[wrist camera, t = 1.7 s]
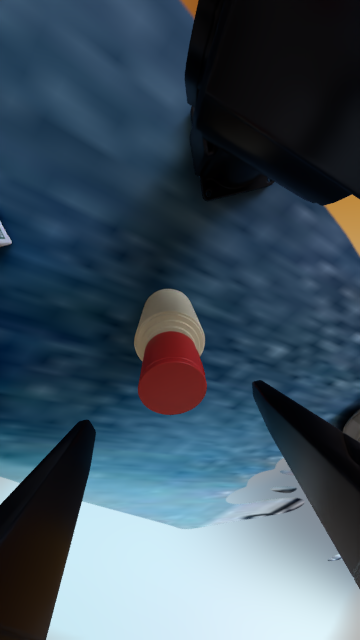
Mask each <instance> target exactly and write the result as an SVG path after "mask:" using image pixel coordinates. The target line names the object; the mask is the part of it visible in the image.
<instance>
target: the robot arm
mask: <svg viewBox="0 0 360 640" xmlns="http://www.w3.org/2000/svg"><path fill="white" fill-rule="evenodd" d="M185 86H186V94H187V103H188V104H190V105H191V106H192V107H191V121H192V130H191V134H190V143H191V150H192V156H193V163H194V169H195V174H196V175H197V176H200V182H201V189H202V196H203V199H204V200H205V201H211V200H215V199H219V198H223V197H227V196H231V195H236V194H240V193H244V192H248V191H252V190H256V189H260V188H264V187H268V186H270V185H272V184H273V183H274V182H276V183H278V184H279V185H281V186H283V187H284V188H286V189H288V190H289V191H291V192H292V193H294V194H296V195H297V196H299V197H301V198H302V199H304V200H307V201H309V202H312V203H318V204H319V205H322V206H323V205H327V204H331V203H334V202H336V201H339V200H341V199H343V198H345V197H347V196H349V195H352V194H353V195H354V196H356V197H357V198H359V199H360V0H199V1H198V6H197V11H196V15H195V20H194V24H193V29H192V34H191V40H190V45H189V50H188V56H187V62H186V70H185ZM267 177H268V178H269V179H270V182H268V181H267ZM207 191H209V192H210V194H211V196H210V197H207V196H206V192H207ZM252 388H253V397H254V399H255V402H256V404H257V406H258V408H259V411H260V413H261V415H262V417H263V419H264V422H265V424H266V426H267V428H268V430H269V432H270V434H271V436H272V438H273V439H274V441H275V443H276V445H277V446H278V448H279V450H280V452H281V453H282V455H283V457H284V458H285V460H286V462H287V464H288V465H289V467H290V469H291V471H292V472H293V474H294V476H295V477H296V479H297V481H298V483H299V484H300V486H301V488H302V490H303V491H304V493H305V494H306V497H307V498H308V500H309V502H310V504H311V505H312V507H313V509H314V510H315V512H316V514H317V516H318V517H319V519H320V521H321V523H322V524H323V526H324V527H325V529H326V531H327V533H328V535H329V536H330V538H331V540H332V542H333V543H334V545H335V547H336V549H337V550H338V552H339V554H340V556H341V557H342V559H343V561H344V562H345V564H346V566H347V567H348V569H349V571H350V573H351V574H352V576H353V577H354V580H355V582H356V583H357V585H358V587H359V589H360V442H358V441H357V440H355V439H353V438H352V437H350V436H349V435H347V434H346V433H343V432H342V431H341V430H339V429H338V428H336V427H334V426H333V425H331V424H330V423H328V422H326V421H325V420H323V419H322V418H320V417H319V416H317V415H315V414H314V413H312V412H311V411H309V410H308V409H306V408H304V407H303V406H301V405H300V404H298V403H296V402H295V401H293V400H292V399H290V398H289V397H287V396H285V395H284V394H282V393H281V392H279V391H277V390H276V389H274V388H273V387H271V386H270V385H268V384H266V383H265V382H263V381H261V380H258V381H254V382H253V383H252ZM95 436H96V432H95V429H94V427H93V426H92V424H91V422H90V421H89V420H83V421H79V422H78V423H77V424H76V425H75V426H74V427H73V428H72V429H71V430H70V431H69V433H68V434H67V435H66V436H65V437H64V438H63V439H62V440H61V441H60V442H59V443H58V444H57V445H56V446H55V447H54V448H53V449H52V451H51V452H50V453H49V454H48V455H47V456H46V457H45V458H44V459H43V460H42V461H41V462H40V463H39V464H38V465H37V466H36V467H35V469H34V470H33V471H32V472H31V473H30V474H29V475H28V476H27V477H26V478H25V479H24V480H23V481H22V482H21V483H20V484H19V486H18V487H17V488H16V489H15V490H14V491H13V492H12V493H11V494H10V495H9V496H8V497H7V498H6V499H5V500H4V501H3V502H2V504H1V505H0V640H46V637H47V633H48V630H49V626H50V622H51V618H52V614H53V610H54V606H55V602H56V599H57V595H58V591H59V587H60V583H61V579H62V576H63V572H64V568H65V564H66V560H67V556H68V552H69V548H70V545H71V541H72V537H73V533H74V529H75V525H76V521H77V518H78V514H79V510H80V506H81V502H82V498H83V495H84V491H85V487H86V483H87V479H88V475H89V471H90V466H91V460H92V454H93V448H94V442H95Z"/></svg>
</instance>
